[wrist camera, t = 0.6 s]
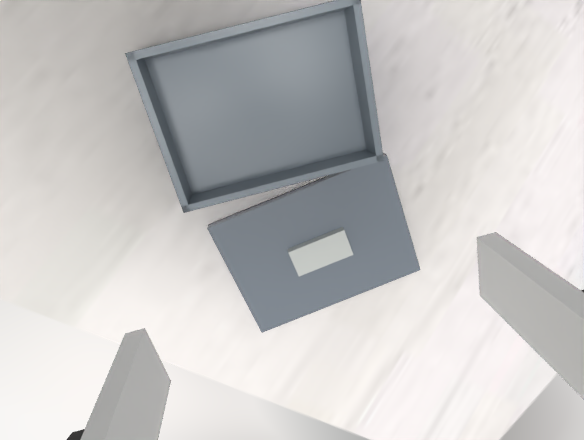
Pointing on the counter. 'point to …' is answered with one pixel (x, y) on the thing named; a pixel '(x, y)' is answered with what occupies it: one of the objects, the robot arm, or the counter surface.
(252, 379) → the counter surface
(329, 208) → the bin lid
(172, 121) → the bin
